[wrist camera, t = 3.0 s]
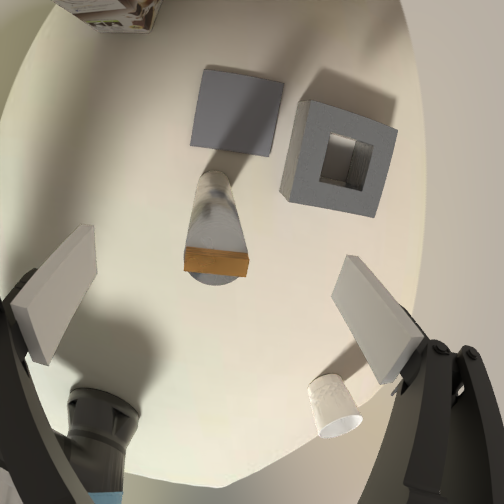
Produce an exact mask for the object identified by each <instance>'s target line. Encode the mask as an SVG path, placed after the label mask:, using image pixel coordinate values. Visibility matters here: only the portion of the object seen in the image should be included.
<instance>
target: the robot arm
mask: <svg viewBox="0 0 504 504" xmlns="http://www.w3.org/2000/svg"><path fill="white" fill-rule="evenodd" d="M96 275H97V263H96V250H95V233H94V225H86V224H81V225H79V226H78V227H77V228H76V229H75V230H74V231H73V232H72V233H71V234H70V235H69V237H68V238H67V239H66V240H65V241H64V242H63V243H62V244H61V245H60V246H59V247H58V248H57V249H56V250H55V251H54V252H53V253H52V254H51V256H50V257H49V258H48V259H47V260H46V261H45V262H44V263H43V264H42V266H41V267H40V268H39V269H36V268H34V269H32V270H31V271H29V272H28V273H26V274H25V275H24V276H23V277H22V278H21V280H20V281H19V282H18V283H17V284H16V285H15V288H13V289H12V290H11V291H10V293H9V294H8V295H7V296H6V298H5V299H4V300H3V301H1V298H0V504H121V501H122V495H123V478H124V465H125V454H126V448H127V446H128V445H129V443H130V441H131V439H132V437H133V435H134V434H135V432H136V430H137V427H138V420H139V417H138V414H137V412H136V411H135V409H134V408H133V407H132V406H130V405H129V404H128V403H126V402H125V401H123V400H122V399H120V398H118V397H116V396H114V395H111V394H109V393H106V392H103V391H100V390H95V389H89V388H79V389H75V390H73V391H72V392H71V393H70V396H69V399H68V403H67V410H68V423H69V431H68V435H67V437H66V436H64V435H63V434H61V433H59V432H57V431H55V430H54V429H52V428H51V426H50V424H49V422H48V419H47V417H46V415H45V412H44V410H43V408H42V405H41V403H40V400H39V397H38V395H37V392H36V389H35V387H34V384H33V381H32V378H31V375H30V372H29V369H28V365H27V363H26V361H25V356H26V354H27V352H29V354H30V356H31V358H32V361H33V362H36V363H39V364H43V365H46V366H49V364H50V362H51V360H52V358H53V355H54V353H55V351H56V349H57V347H58V345H59V343H60V341H61V339H62V337H63V335H64V333H65V331H66V329H67V327H68V325H69V323H70V321H71V319H72V317H73V315H74V313H75V312H76V310H77V308H78V306H79V304H80V302H81V301H82V299H83V297H84V295H85V294H86V292H87V290H88V288H89V287H90V285H91V283H92V282H93V280H94V278H95V277H96ZM331 297H332V299H333V301H334V302H335V304H336V306H337V308H338V309H339V311H340V313H341V315H342V316H343V318H344V320H345V322H346V324H347V325H348V327H349V329H350V331H351V332H352V334H353V336H354V338H355V340H356V341H357V343H358V345H359V347H360V349H361V351H362V352H363V354H364V356H365V358H366V360H367V362H368V364H369V365H370V367H371V369H372V371H373V373H374V375H375V377H376V379H377V381H378V382H379V384H380V385H381V384H387V383H392V382H393V381H394V380H395V379H396V377H397V376H398V374H399V373H400V374H401V376H402V377H403V379H402V380H401V382H400V383H399V384H398V386H397V387H396V388H395V390H394V391H393V392H392V393H391V396H393V395H394V393H396V392H397V395H396V398H395V402H394V406H393V409H392V413H391V417H390V420H389V423H388V426H387V430H386V433H385V436H384V439H383V442H382V445H381V448H380V450H379V453H378V456H377V459H376V461H375V464H374V466H373V469H372V472H371V474H370V476H369V479H368V481H367V484H366V486H365V489H364V491H363V493H362V495H361V497H360V499H359V501H358V504H504V426H503V422H502V418H501V415H500V412H499V408H498V405H497V402H496V398H495V395H494V392H493V389H492V385H491V382H490V380H489V377H488V374H487V371H486V369H485V366H484V363H483V361H482V358H481V356H480V354H479V353H478V352H477V350H476V349H475V348H473V347H470V346H467V345H465V346H463V347H462V348H461V350H460V351H459V352H458V353H452V352H451V351H450V349H449V348H448V347H447V346H446V345H445V344H444V343H442V342H441V341H438V340H430V339H429V338H428V337H427V336H426V334H425V333H424V332H423V331H422V329H421V328H420V326H419V325H418V324H417V323H415V322H416V321H415V320H414V319H413V318H412V317H411V315H410V314H409V313H408V311H407V310H406V309H405V308H404V307H402V306H401V305H400V304H399V303H398V302H397V301H396V300H395V299H394V297H393V296H392V295H391V294H390V293H389V291H388V290H387V289H386V288H385V287H384V285H383V284H382V283H381V282H380V281H379V280H378V278H377V277H376V276H375V275H374V274H373V273H372V271H371V270H370V269H369V268H368V267H367V266H366V265H365V263H364V262H363V261H362V260H361V259H360V258H359V257H358V256H352V255H346V258H345V261H344V263H343V266H342V269H341V272H340V274H339V277H338V280H337V282H336V285H335V288H334V290H333V293H332V295H331ZM463 385H464V391H463V392H462V393H461V395H459V396H458V391H459V389H460V388H461V387H462V386H463Z"/></svg>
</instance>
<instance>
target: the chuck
mask: <svg viewBox="0 0 504 504" xmlns="http://www.w3.org/2000/svg"><path fill="white" fill-rule="evenodd" d="M330 133H331V134H334V135H338V136H341V137H345V138H348V139H351V140H354V141H356V144H355V148H354V152H353V156H352V160H351V164H350V168H349V172H348V176H347V180H346V182H342V181H338V180H334V179H329V178H325V177H320V175H321V171H322V166H323V162H324V158H325V154H326V150H327V145H328V141H329V136H330ZM397 133H398V130H396V129H394V128H392V127H389V126H387V125H384V124H382V123H379V122H377V121H374V120H371V119H369V118H366V117H363V116H360V115H358V114H355V113H352V112H349V111H346V110H343V109H340V108H337V107H334V106H330V105H327V104H324V103H320V102H317V101H313V100H307V101H300V102H298V107H297V112H296V116H295V121H294V126H293V130H292V135H291V140H290V144H289V149H288V154H287V158H286V163H285V168H284V172H283V177H282V181H281V186H280V190H279V192H280V193H281V194H282V195H283V196H284V197H285V198H286V200H287V201H288V202H292V203H298V204H303V205H309V206H315V207H320V208H326V209H331V210H336V211H342V212H347V213H352V214H357V215H362V216H367V217H371V218H374V217H375V214H376V211H377V208H378V205H379V201H380V198H381V195H382V191H383V188H384V184H385V181H386V177H387V173H388V170H389V166H390V162H391V158H392V154H393V150H394V146H395V142H396V137H397Z"/></svg>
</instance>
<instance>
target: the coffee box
mask: <svg viewBox="0 0 504 504" xmlns="http://www.w3.org/2000/svg"><path fill="white" fill-rule="evenodd" d="M51 1H53V2H55V3H56V4H58V5H59V6H61V7H62V8H64V9H66V10H67V11H69V12H70V13H72V14H73V15H75V16H76V17H78V18H79V19H81V20H82V21H83V22H85V23H86V24H88V25H89V26H91V27H92V28H94V29H95V30H96V31H98V32H127V33H149V32H151V30H152V27H153V24H154V22H155V19H156V16H157V13H158V11H159V8H160V6H161V3H162V1H163V0H51Z"/></svg>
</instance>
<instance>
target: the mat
mask: <svg viewBox="0 0 504 504" xmlns="http://www.w3.org/2000/svg"><path fill="white" fill-rule="evenodd" d="M283 86H284V83H280V82H276V81H271V80H267V79H262V78H257V77H252V76H246V75H241V74H235V73H228V72H222V71H214V70H206V69H204V71H203V76H202V81H201V86H200V91H199V96H198V101H197V107H196V112H195V118H194V124H193V130H192V136H191V143H190V146H196V147H204V148H212V149H220V150H227V151H233V152H240V153H246V154H252V155H258V156H264V157H269V154H270V149H271V145H272V140H273V135H274V130H275V125H276V120H277V115H278V111H279V106H280V101H281V96H282V91H283Z"/></svg>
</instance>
